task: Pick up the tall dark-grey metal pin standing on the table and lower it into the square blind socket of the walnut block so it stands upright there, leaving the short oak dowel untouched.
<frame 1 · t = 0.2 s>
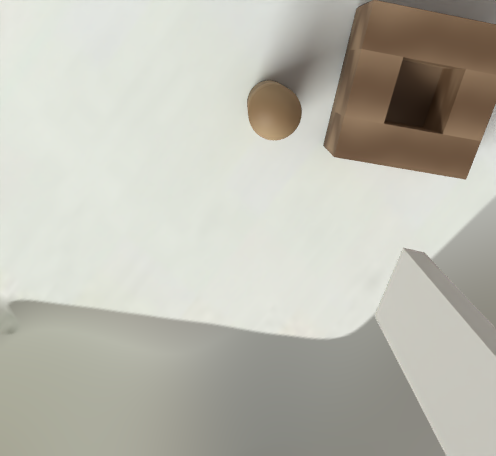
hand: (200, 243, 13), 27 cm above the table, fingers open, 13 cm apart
oak dowel: (268, 103, 38), on the table
socket block: (401, 92, 37), on the table
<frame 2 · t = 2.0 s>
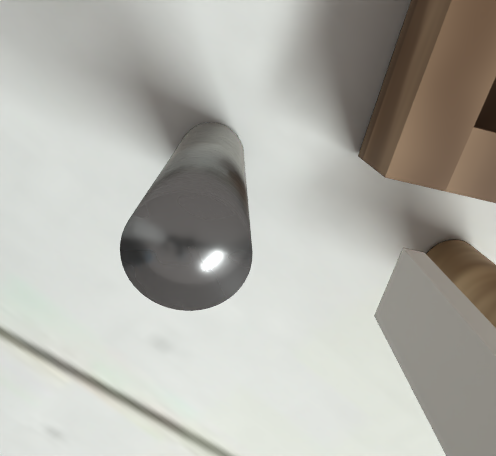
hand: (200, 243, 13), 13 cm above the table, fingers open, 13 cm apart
oak dowel: (448, 265, 29), on the table
socket block: (486, 80, 24), on the table
metal pin: (211, 155, 25), on the table
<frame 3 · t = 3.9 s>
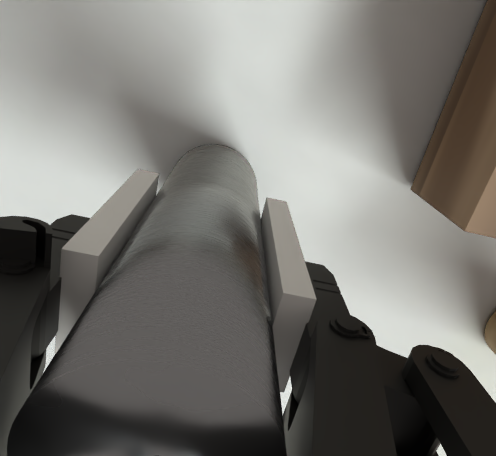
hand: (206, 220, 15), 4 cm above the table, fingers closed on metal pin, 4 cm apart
metal pin: (213, 187, 19), on the table, touching gripper
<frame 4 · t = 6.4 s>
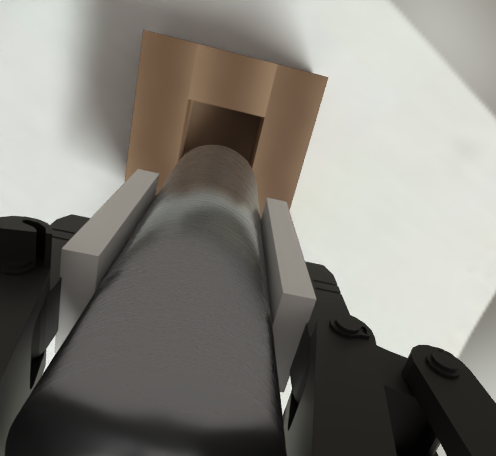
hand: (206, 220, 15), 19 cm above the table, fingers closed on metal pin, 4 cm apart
socket block: (221, 134, 32), on the table
metal pin: (213, 187, 19), point 15 cm above the table, touching gripper
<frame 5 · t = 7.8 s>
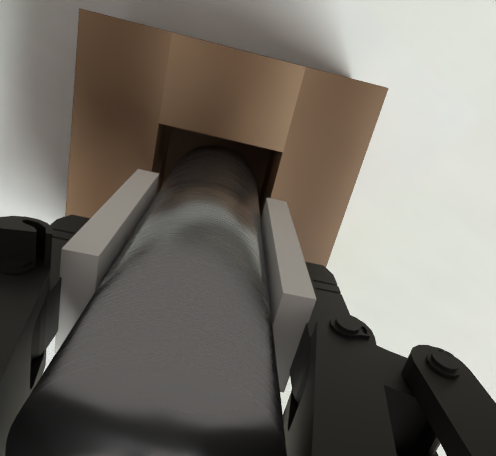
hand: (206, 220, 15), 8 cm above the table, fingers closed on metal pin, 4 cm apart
socket block: (216, 168, 22), on the table
metal pin: (213, 187, 19), point 4 cm above the table, touching gripper
when the fingers open (6 cm above the table, at t = 9.0 s): metal pin drops 1 cm, resting on socket block.
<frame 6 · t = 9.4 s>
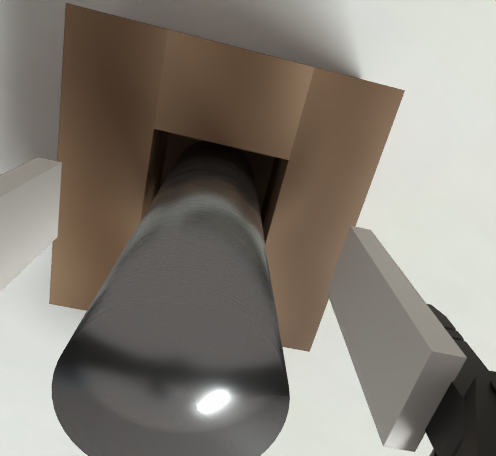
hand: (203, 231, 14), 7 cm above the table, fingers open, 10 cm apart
socket block: (216, 175, 21), on the table
metal pin: (213, 180, 20), point 1 cm above the table, touching socket block
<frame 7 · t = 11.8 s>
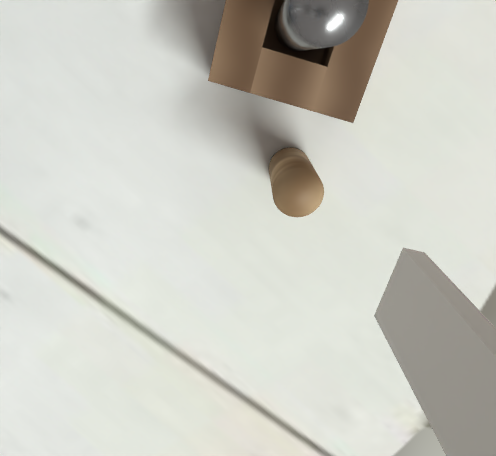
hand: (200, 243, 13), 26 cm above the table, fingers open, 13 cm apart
oak dowel: (289, 168, 39), on the table
socket block: (298, 25, 34), on the table
metal pin: (299, 24, 33), point 1 cm above the table, touching socket block
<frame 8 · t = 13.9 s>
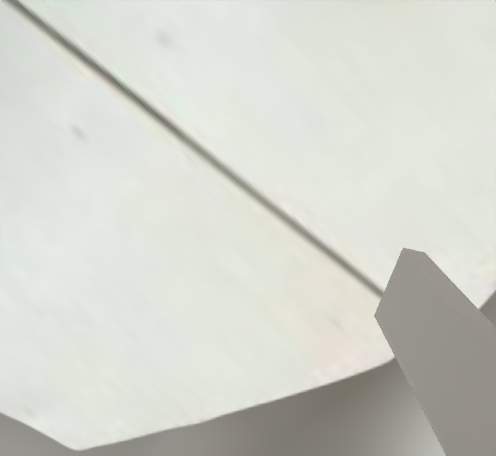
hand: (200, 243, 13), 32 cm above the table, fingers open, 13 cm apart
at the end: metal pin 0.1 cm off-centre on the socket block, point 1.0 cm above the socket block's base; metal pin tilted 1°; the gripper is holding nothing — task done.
